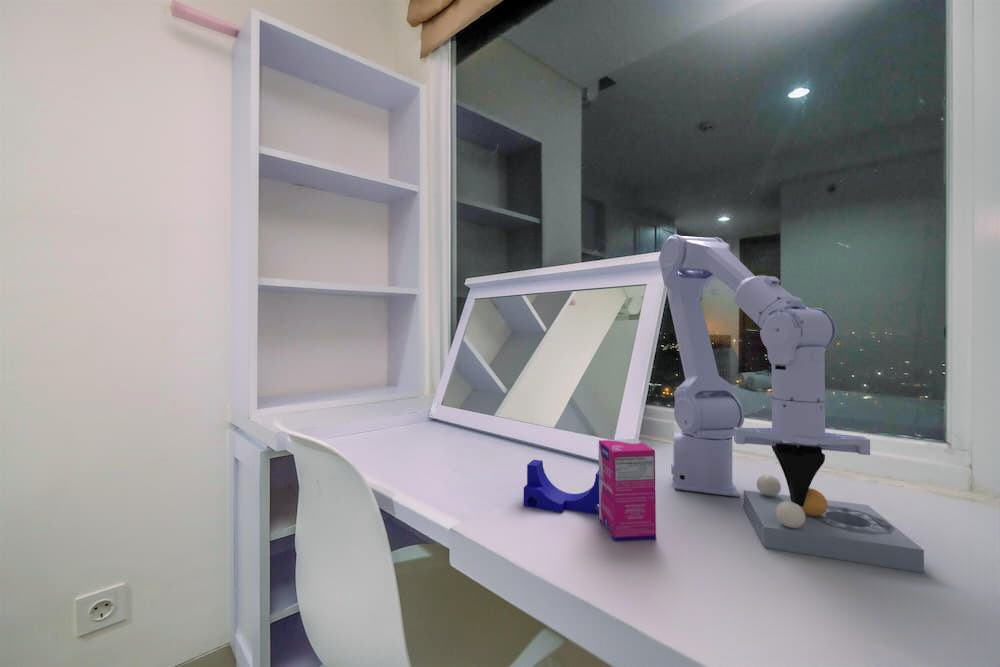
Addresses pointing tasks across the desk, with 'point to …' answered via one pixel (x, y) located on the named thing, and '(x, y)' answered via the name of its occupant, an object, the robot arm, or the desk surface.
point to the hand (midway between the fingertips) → (798, 503)
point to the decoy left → (768, 485)
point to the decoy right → (790, 514)
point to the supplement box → (627, 489)
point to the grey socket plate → (835, 533)
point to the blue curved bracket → (557, 493)
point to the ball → (814, 503)
